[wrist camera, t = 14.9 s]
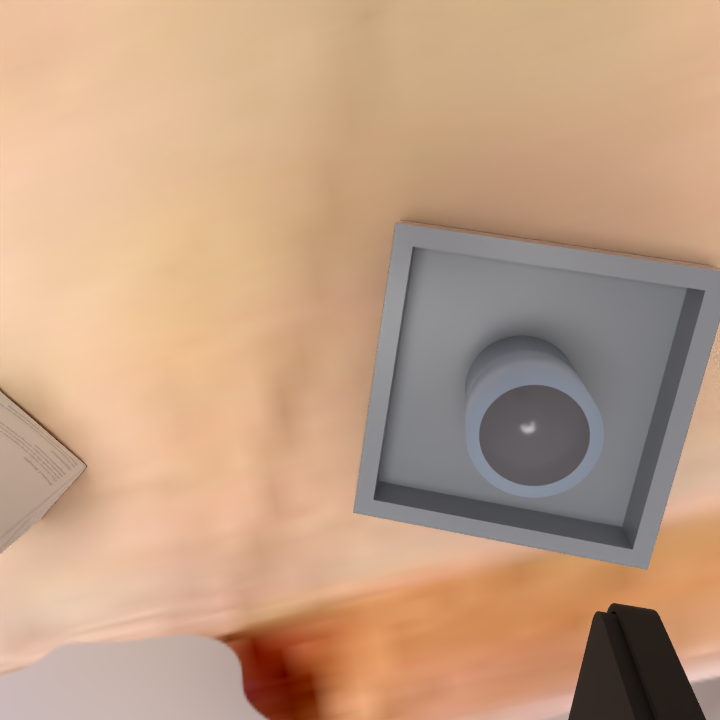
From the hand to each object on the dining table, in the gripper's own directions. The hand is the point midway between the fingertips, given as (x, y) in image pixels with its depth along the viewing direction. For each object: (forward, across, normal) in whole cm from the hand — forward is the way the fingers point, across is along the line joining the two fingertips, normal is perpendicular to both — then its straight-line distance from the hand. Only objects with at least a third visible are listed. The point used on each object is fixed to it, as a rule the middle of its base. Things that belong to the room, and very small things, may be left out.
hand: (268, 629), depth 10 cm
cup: (+27, -7, +5) cm, 28 cm away
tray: (+28, -7, +5) cm, 29 cm away
